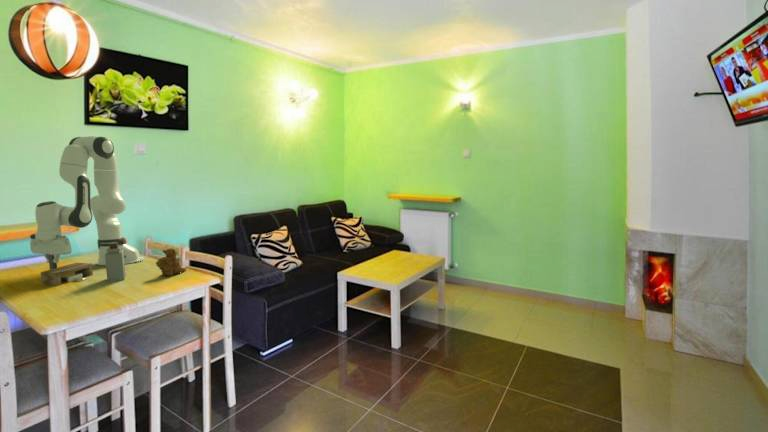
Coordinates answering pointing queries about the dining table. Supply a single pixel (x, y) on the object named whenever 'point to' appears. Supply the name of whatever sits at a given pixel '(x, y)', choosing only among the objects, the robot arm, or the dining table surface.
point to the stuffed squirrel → (170, 263)
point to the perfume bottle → (115, 263)
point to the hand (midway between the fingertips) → (52, 262)
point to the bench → (54, 274)
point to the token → (79, 279)
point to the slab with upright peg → (69, 279)
